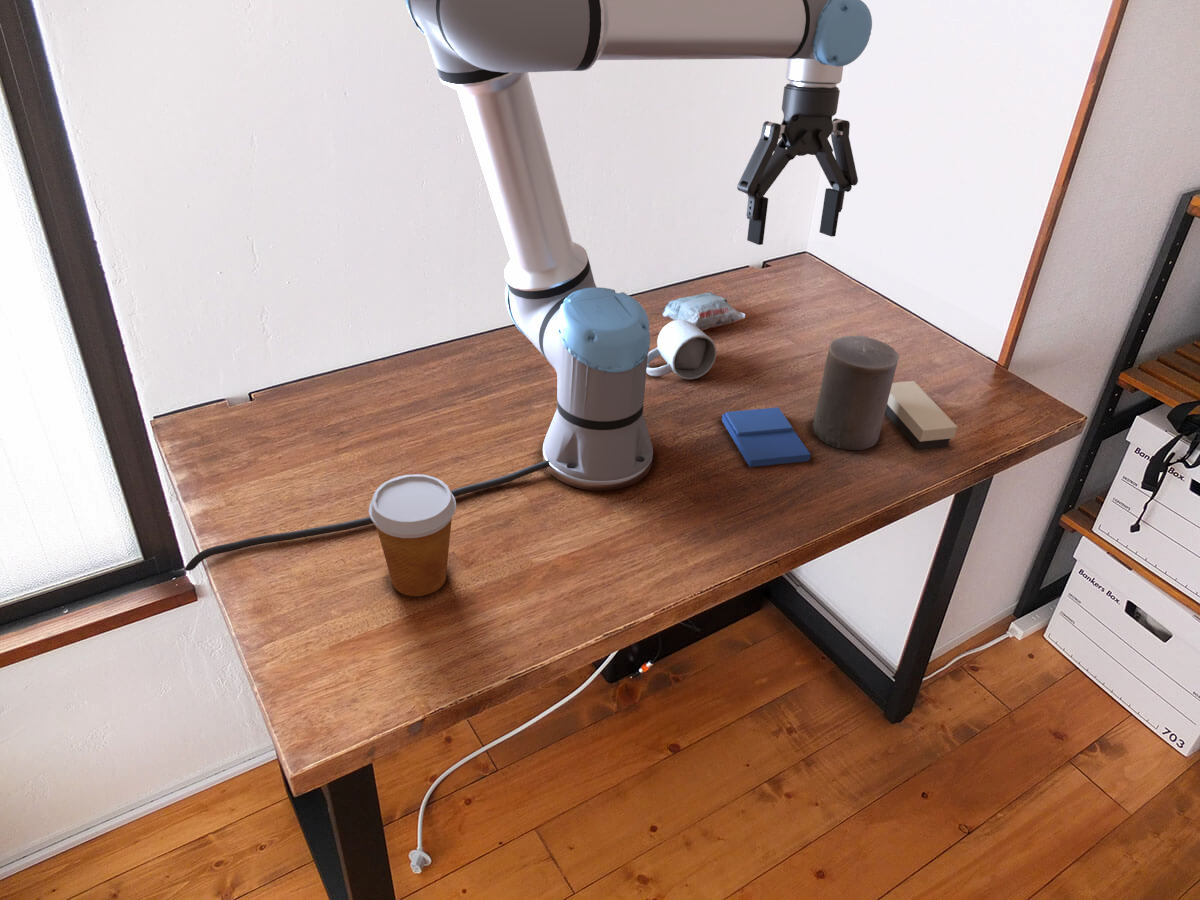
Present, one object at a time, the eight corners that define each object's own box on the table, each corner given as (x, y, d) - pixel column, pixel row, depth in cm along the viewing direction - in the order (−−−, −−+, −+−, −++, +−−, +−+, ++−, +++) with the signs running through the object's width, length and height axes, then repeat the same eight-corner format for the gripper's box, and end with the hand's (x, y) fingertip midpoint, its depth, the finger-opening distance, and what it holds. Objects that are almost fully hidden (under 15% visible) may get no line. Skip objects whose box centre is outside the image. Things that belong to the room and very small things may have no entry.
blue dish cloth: (749, 467, 133) (751, 457, 132) (721, 420, 142) (723, 410, 141) (809, 461, 135) (811, 451, 134) (778, 415, 144) (779, 405, 143)
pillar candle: (818, 449, 137) (837, 358, 129) (807, 412, 145) (825, 324, 137) (885, 452, 137) (909, 362, 129) (871, 416, 145) (893, 328, 137)
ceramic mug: (692, 352, 159) (696, 310, 155) (715, 375, 153) (719, 333, 148) (634, 362, 156) (636, 320, 151) (654, 387, 150) (657, 344, 145)
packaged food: (743, 329, 167) (746, 303, 164) (686, 342, 162) (688, 316, 159) (714, 309, 173) (717, 284, 170) (659, 321, 168) (661, 296, 165)
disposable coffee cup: (463, 551, 116) (459, 472, 109) (456, 607, 108) (451, 525, 101) (384, 550, 115) (375, 470, 109) (371, 606, 108) (360, 524, 101)
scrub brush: (916, 452, 138) (923, 430, 136) (876, 404, 148) (881, 383, 146) (951, 448, 139) (957, 426, 137) (908, 401, 149) (914, 380, 147)
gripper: (861, 79, 139) (838, 225, 148) (722, 82, 127) (707, 239, 137) (899, 85, 133) (873, 236, 142) (756, 88, 122) (738, 252, 131)
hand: (791, 238), depth 140 cm, fingers open, 13 cm apart
